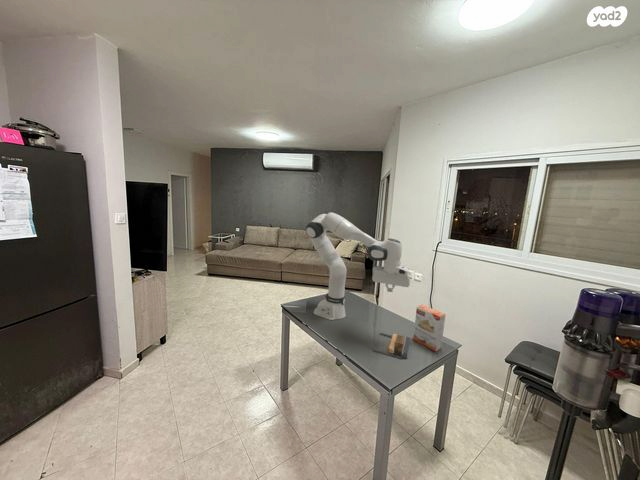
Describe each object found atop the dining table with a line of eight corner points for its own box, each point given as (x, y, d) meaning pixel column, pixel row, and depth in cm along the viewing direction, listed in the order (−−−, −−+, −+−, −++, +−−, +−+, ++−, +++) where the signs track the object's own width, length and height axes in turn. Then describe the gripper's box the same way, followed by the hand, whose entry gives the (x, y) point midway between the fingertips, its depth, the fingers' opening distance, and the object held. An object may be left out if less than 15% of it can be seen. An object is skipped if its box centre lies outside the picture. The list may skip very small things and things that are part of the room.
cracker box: (412, 339, 143) (416, 306, 139) (418, 336, 147) (422, 304, 143) (435, 352, 132) (440, 316, 128) (441, 348, 135) (446, 313, 132)
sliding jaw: (388, 353, 130) (388, 348, 129) (392, 338, 144) (393, 333, 143) (393, 354, 129) (393, 349, 128) (397, 339, 143) (397, 334, 142)
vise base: (373, 351, 131) (373, 345, 131) (380, 333, 148) (380, 328, 148) (406, 360, 125) (406, 354, 124) (409, 341, 142) (410, 336, 141)
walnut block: (394, 353, 130) (395, 342, 129) (396, 345, 138) (397, 334, 136) (401, 355, 129) (402, 344, 128) (403, 347, 136) (404, 336, 135)
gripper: (371, 266, 138) (370, 290, 140) (410, 272, 129) (407, 296, 132) (374, 264, 143) (372, 286, 146) (411, 269, 135) (409, 292, 137)
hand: (389, 291), depth 139 cm, fingers closed
